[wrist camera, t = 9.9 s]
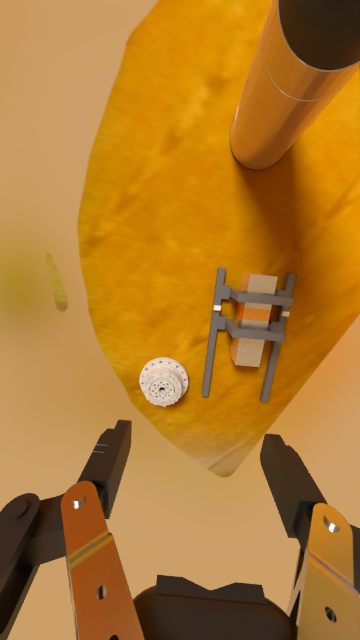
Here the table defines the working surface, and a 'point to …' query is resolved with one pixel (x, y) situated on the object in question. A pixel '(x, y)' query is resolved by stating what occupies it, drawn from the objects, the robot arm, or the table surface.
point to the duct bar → (252, 319)
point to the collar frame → (272, 333)
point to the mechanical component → (163, 381)
